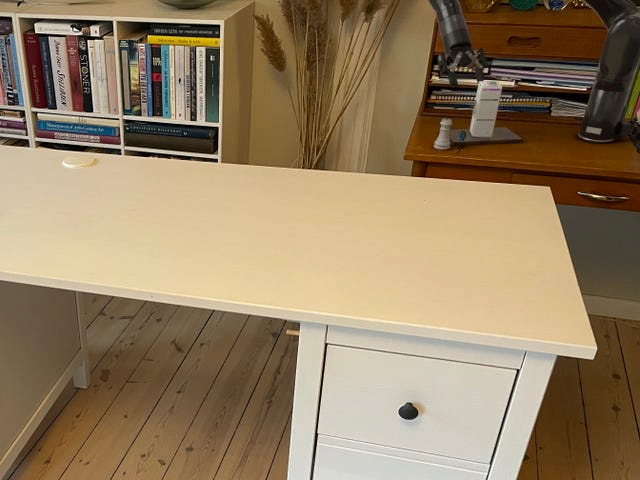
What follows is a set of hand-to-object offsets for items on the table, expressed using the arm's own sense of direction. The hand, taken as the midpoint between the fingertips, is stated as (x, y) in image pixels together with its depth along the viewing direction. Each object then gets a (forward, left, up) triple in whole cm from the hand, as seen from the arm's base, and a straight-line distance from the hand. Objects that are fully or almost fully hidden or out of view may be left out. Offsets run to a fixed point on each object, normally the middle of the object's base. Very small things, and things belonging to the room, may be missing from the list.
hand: (468, 84), depth 219 cm
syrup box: (-2, +11, -12) cm, 16 cm away
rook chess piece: (+12, +18, -13) cm, 25 cm away
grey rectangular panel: (-2, +11, -13) cm, 17 cm away
